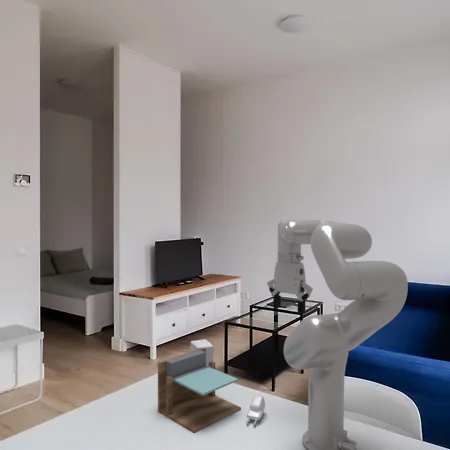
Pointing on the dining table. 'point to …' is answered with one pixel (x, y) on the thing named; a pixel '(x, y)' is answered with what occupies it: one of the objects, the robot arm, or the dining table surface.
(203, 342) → the skincare box
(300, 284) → the robot arm
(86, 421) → the dining table surface
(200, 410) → the stand
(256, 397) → the power adapter
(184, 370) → the flap
